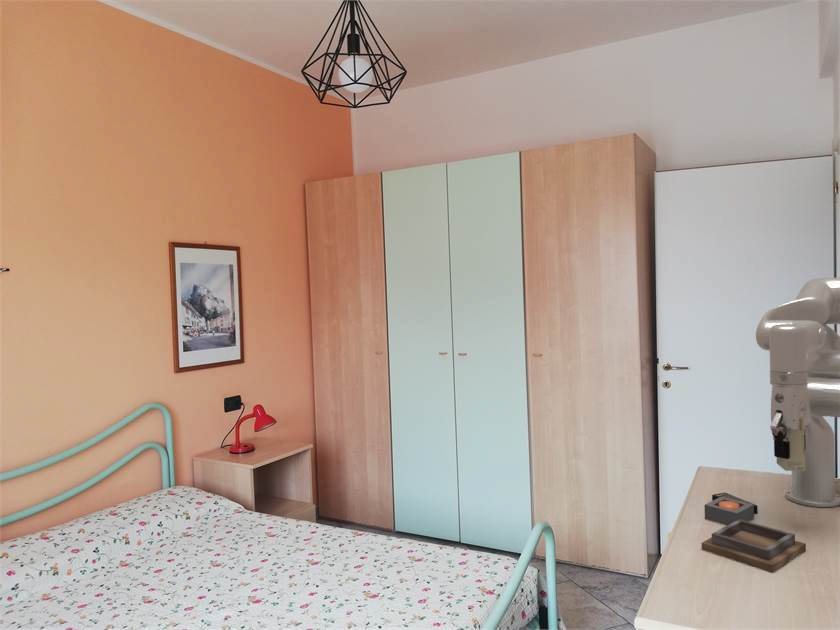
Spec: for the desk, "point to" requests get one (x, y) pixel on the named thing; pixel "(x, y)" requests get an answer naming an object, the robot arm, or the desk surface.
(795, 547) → the square wooden tray
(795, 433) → the skincare box
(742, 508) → the button housing
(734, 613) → the desk surface
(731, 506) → the button
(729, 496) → the multiport hub
